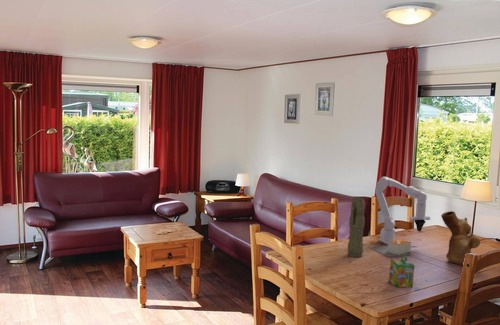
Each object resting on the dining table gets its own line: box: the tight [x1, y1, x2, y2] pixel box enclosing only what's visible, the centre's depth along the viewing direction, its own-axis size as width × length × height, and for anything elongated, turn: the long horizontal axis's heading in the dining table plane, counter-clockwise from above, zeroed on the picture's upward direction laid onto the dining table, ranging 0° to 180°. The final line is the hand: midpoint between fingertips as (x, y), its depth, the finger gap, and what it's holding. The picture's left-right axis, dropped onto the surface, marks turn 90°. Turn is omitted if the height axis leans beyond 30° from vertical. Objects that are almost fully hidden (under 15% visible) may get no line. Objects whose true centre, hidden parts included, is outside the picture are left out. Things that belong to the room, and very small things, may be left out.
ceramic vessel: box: [440, 210, 481, 266], centre depth 269 cm, size 16×22×30 cm
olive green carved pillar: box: [347, 196, 366, 259], centre depth 275 cm, size 9×12×35 cm
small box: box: [387, 239, 412, 255], centre depth 286 cm, size 8×6×13 cm
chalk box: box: [388, 255, 415, 288], centre depth 231 cm, size 9×9×15 cm
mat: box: [368, 245, 411, 258], centre depth 288 cm, size 20×16×1 cm
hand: (419, 231), depth 300 cm, fingers closed
